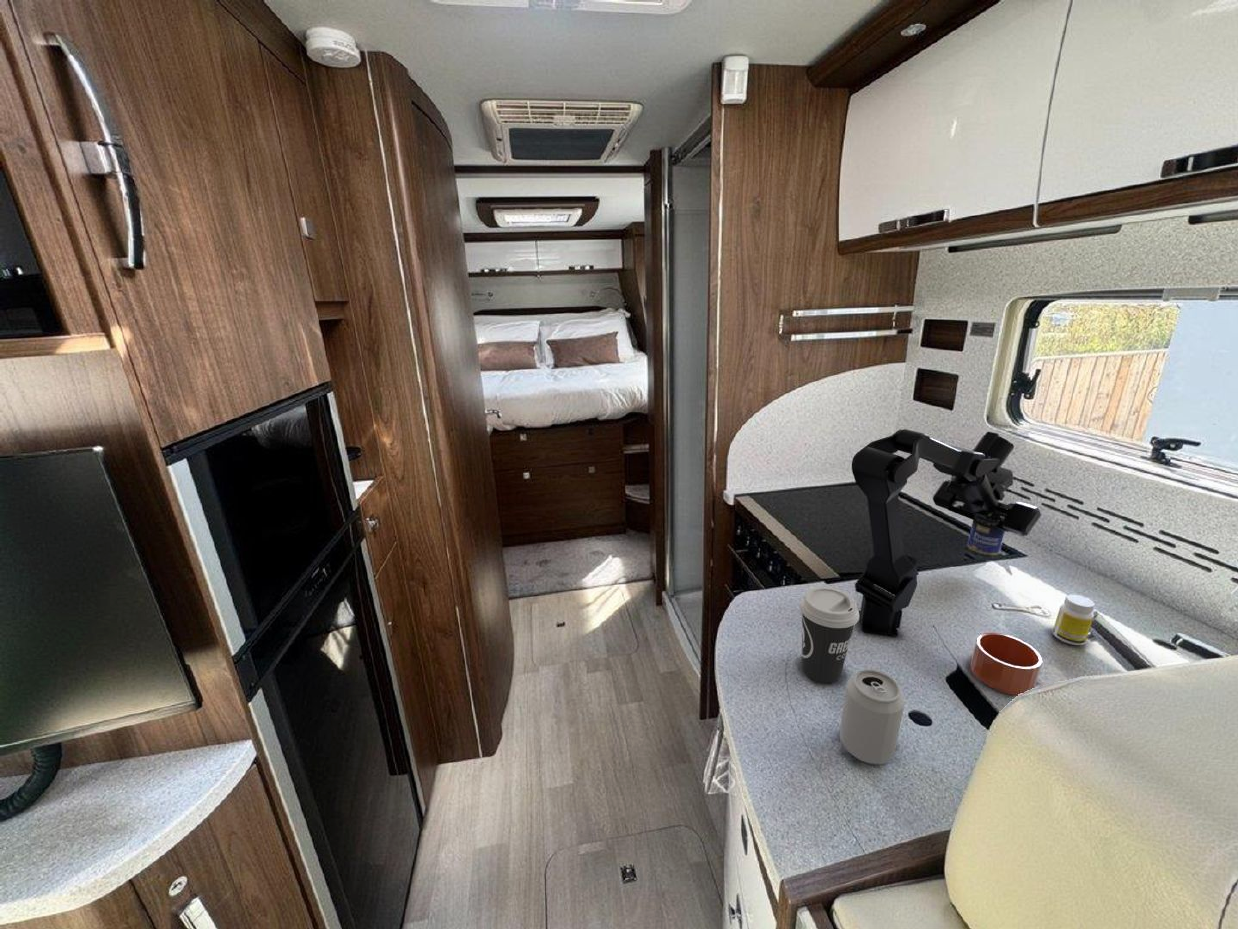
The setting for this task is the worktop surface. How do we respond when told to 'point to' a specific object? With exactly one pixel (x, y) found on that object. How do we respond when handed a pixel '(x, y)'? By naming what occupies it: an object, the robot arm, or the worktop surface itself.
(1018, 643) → the ceramic bowl
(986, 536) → the pill bottle
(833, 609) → the coffee cup
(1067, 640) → the supplement bottle
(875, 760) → the can
